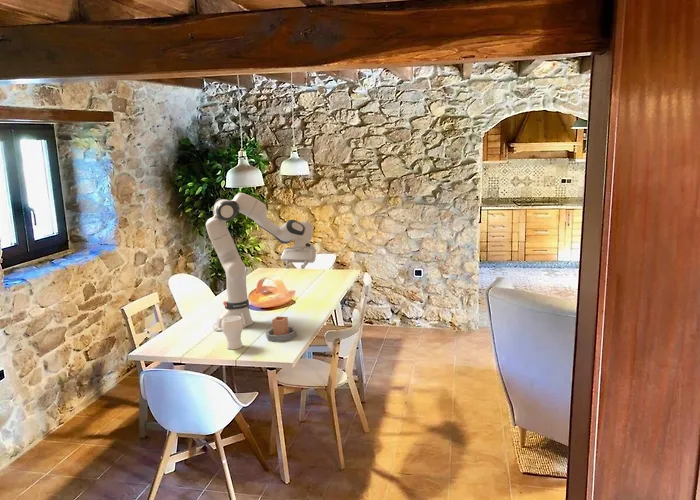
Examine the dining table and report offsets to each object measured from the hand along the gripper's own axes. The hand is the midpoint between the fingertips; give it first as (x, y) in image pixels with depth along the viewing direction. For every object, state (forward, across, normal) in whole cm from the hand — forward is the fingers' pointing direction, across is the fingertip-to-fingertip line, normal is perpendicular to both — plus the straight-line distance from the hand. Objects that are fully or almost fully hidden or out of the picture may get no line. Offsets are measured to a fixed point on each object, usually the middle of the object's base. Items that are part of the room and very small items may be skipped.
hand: (294, 268), depth 323 cm
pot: (+40, +2, +2) cm, 40 cm away
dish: (+40, +2, +3) cm, 40 cm away
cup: (+53, -15, -10) cm, 56 cm away
